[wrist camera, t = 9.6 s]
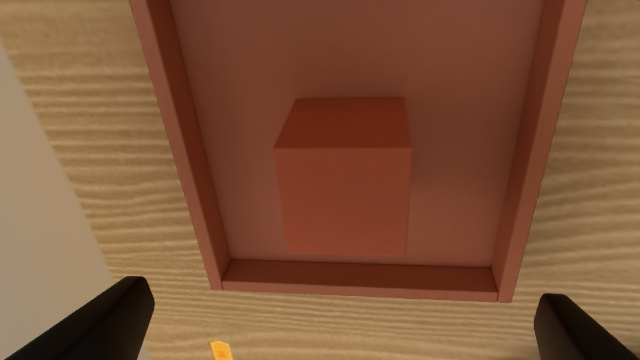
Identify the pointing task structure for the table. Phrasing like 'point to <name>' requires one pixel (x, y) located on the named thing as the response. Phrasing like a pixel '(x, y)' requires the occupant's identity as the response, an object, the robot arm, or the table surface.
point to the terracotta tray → (364, 82)
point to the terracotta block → (345, 176)
